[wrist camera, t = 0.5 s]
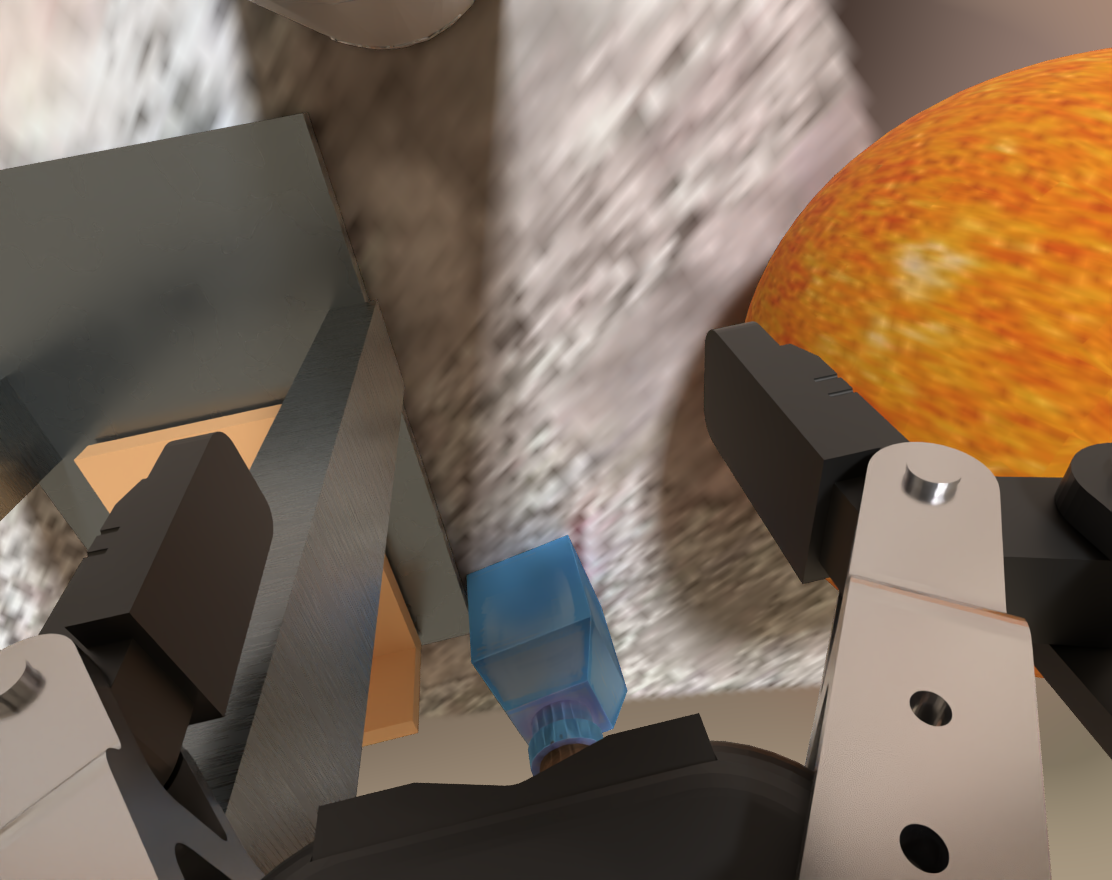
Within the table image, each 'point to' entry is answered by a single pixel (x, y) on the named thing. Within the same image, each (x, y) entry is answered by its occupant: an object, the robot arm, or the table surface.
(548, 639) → the perfume bottle
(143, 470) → the press bed carriage
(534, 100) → the table surface
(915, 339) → the decorative sphere
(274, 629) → the press frame
